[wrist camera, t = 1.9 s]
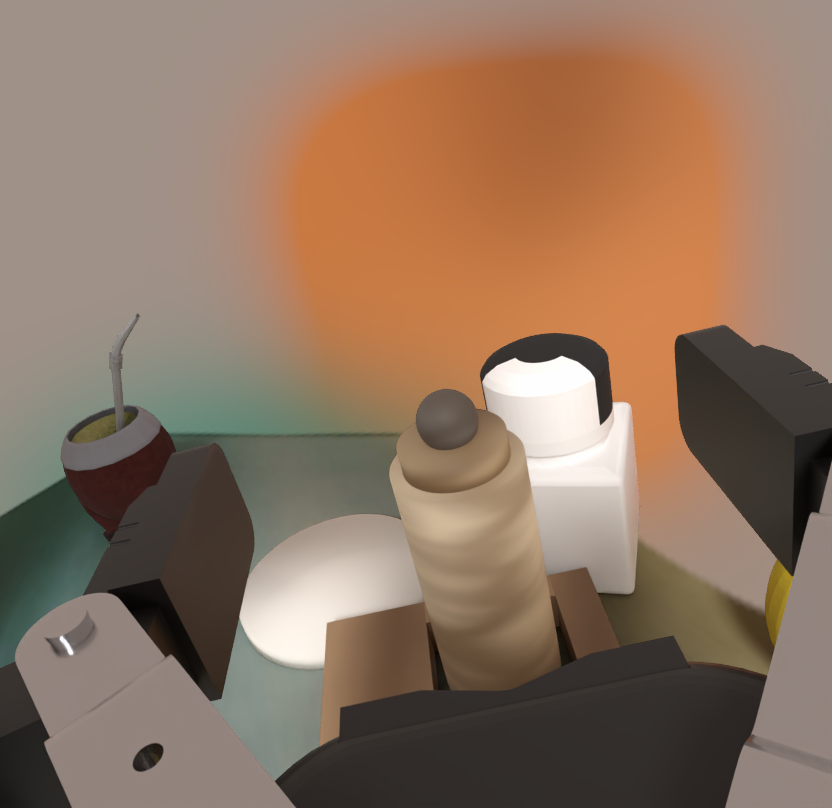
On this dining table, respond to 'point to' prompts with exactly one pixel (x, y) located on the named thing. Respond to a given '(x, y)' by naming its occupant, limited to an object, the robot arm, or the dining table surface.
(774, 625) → the lemon
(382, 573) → the saucer
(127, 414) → the mate gourd
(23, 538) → the dining table surface
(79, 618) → the robot arm
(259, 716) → the dining table surface
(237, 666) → the dining table surface
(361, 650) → the frame
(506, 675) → the pepper mill
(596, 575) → the medicine bottle
